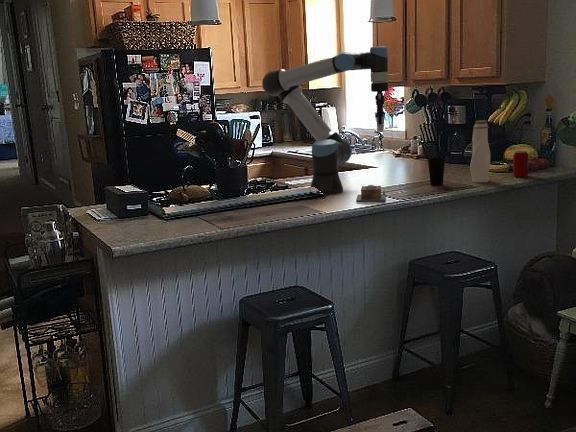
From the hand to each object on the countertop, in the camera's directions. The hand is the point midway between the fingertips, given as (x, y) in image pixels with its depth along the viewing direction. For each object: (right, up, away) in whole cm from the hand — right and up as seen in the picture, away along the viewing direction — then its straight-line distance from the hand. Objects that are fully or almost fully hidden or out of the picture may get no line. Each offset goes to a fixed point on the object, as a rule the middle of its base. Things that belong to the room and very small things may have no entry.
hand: (380, 130), depth 287 cm
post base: (-7, -32, -18) cm, 37 cm away
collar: (-6, -30, -18) cm, 36 cm away
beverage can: (+69, -20, +17) cm, 74 cm away
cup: (+27, -24, +8) cm, 37 cm away
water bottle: (+48, -22, +12) cm, 54 cm away
